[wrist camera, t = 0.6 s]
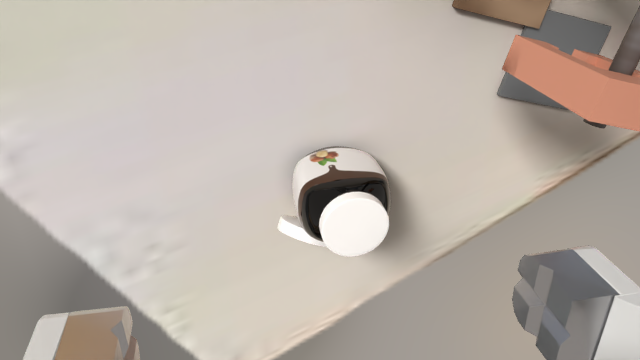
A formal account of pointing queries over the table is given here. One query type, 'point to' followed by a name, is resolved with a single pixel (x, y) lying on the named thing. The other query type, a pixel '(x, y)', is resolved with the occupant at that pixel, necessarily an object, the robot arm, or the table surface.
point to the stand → (529, 9)
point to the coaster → (566, 37)
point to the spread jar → (339, 201)
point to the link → (577, 82)
